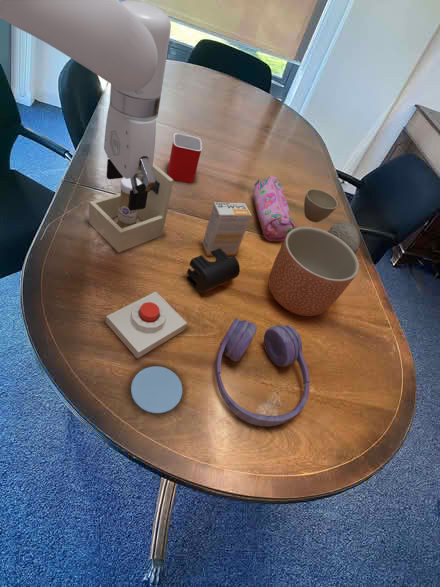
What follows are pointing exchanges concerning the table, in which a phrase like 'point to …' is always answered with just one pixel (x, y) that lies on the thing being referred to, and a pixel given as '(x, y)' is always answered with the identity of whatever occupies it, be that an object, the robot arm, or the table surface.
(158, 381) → the coaster
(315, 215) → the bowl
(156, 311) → the release button
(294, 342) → the headphones
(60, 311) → the table surface
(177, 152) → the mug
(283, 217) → the pencil case
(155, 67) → the robot arm
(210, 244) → the supplement box
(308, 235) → the planter
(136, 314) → the button block
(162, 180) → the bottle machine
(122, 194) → the sprinkles bottle
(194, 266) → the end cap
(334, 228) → the decorative stone
